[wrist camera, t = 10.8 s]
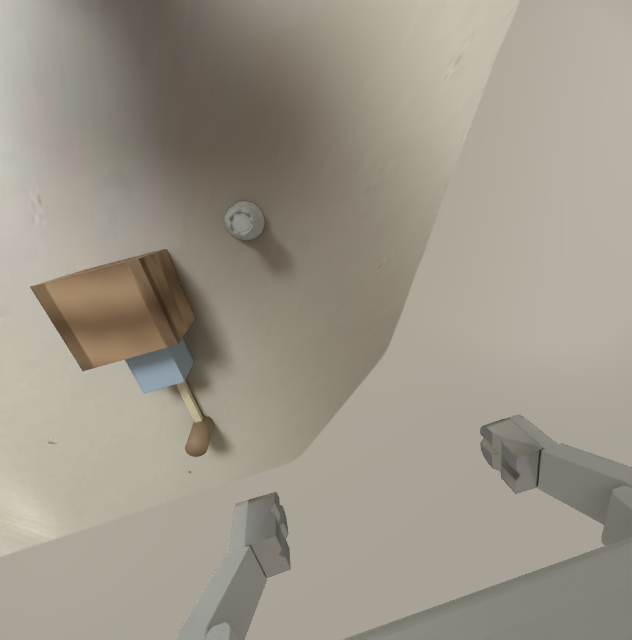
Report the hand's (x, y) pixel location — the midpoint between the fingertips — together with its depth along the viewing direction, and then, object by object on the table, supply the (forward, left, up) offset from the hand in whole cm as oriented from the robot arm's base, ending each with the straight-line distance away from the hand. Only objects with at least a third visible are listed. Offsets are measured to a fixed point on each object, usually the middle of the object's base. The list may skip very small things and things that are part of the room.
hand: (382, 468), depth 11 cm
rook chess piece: (-9, -4, -30) cm, 32 cm away
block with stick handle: (+10, -19, -30) cm, 37 cm away
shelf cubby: (-3, -19, -30) cm, 36 cm away
